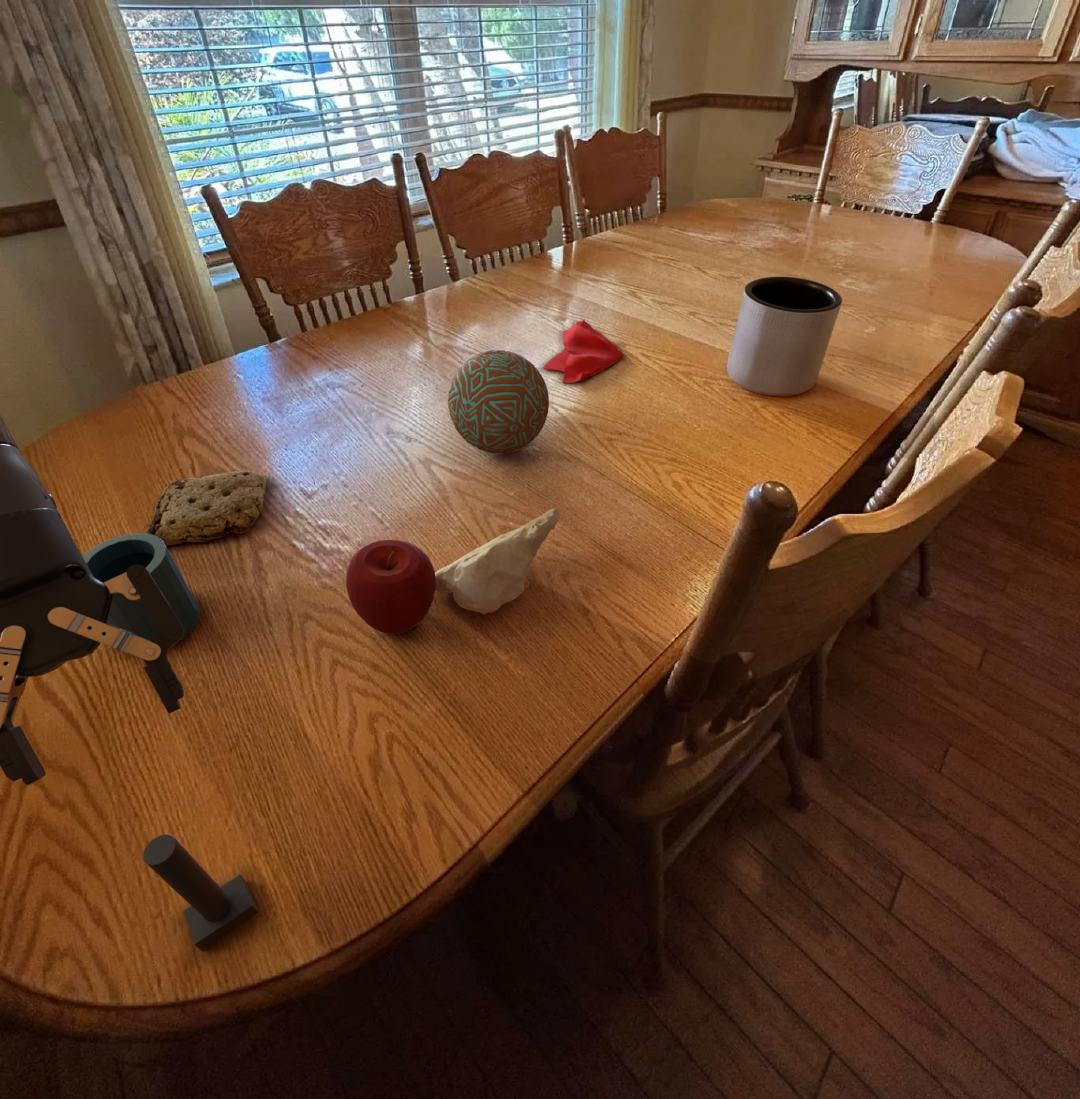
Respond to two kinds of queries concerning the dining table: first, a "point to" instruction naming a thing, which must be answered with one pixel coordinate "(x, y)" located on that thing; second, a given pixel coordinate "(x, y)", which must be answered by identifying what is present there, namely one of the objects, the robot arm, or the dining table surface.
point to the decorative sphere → (498, 401)
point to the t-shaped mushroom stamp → (200, 892)
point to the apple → (391, 585)
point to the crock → (157, 560)
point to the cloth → (583, 353)
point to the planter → (782, 335)
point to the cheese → (496, 567)
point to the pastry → (208, 507)
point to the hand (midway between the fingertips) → (109, 743)
